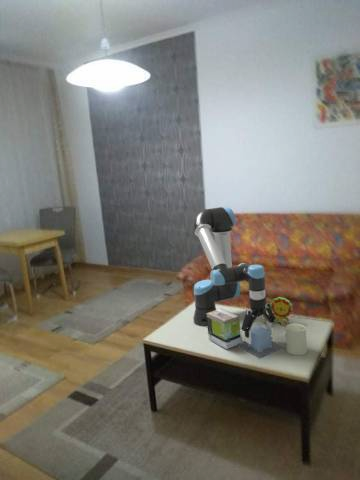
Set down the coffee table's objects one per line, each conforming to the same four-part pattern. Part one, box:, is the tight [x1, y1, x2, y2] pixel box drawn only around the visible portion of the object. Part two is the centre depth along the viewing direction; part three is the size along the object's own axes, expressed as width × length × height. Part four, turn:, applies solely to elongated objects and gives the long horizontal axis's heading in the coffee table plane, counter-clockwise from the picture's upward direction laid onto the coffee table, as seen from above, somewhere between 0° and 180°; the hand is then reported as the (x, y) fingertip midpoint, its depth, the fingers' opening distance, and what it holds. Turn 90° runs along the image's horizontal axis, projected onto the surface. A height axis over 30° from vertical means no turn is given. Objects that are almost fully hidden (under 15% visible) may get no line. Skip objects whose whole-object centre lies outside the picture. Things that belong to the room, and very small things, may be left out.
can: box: [285, 322, 308, 356], centre depth 168 cm, size 9×9×12 cm
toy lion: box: [262, 296, 293, 327], centre depth 197 cm, size 16×5×15 cm, turn 63°
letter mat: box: [236, 340, 285, 359], centre depth 176 cm, size 16×16×1 cm
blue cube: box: [248, 325, 273, 351], centre depth 175 cm, size 8×8×8 cm
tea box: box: [206, 308, 242, 350], centre depth 183 cm, size 15×10×15 cm
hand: (259, 338), depth 176 cm, fingers open, 13 cm apart
